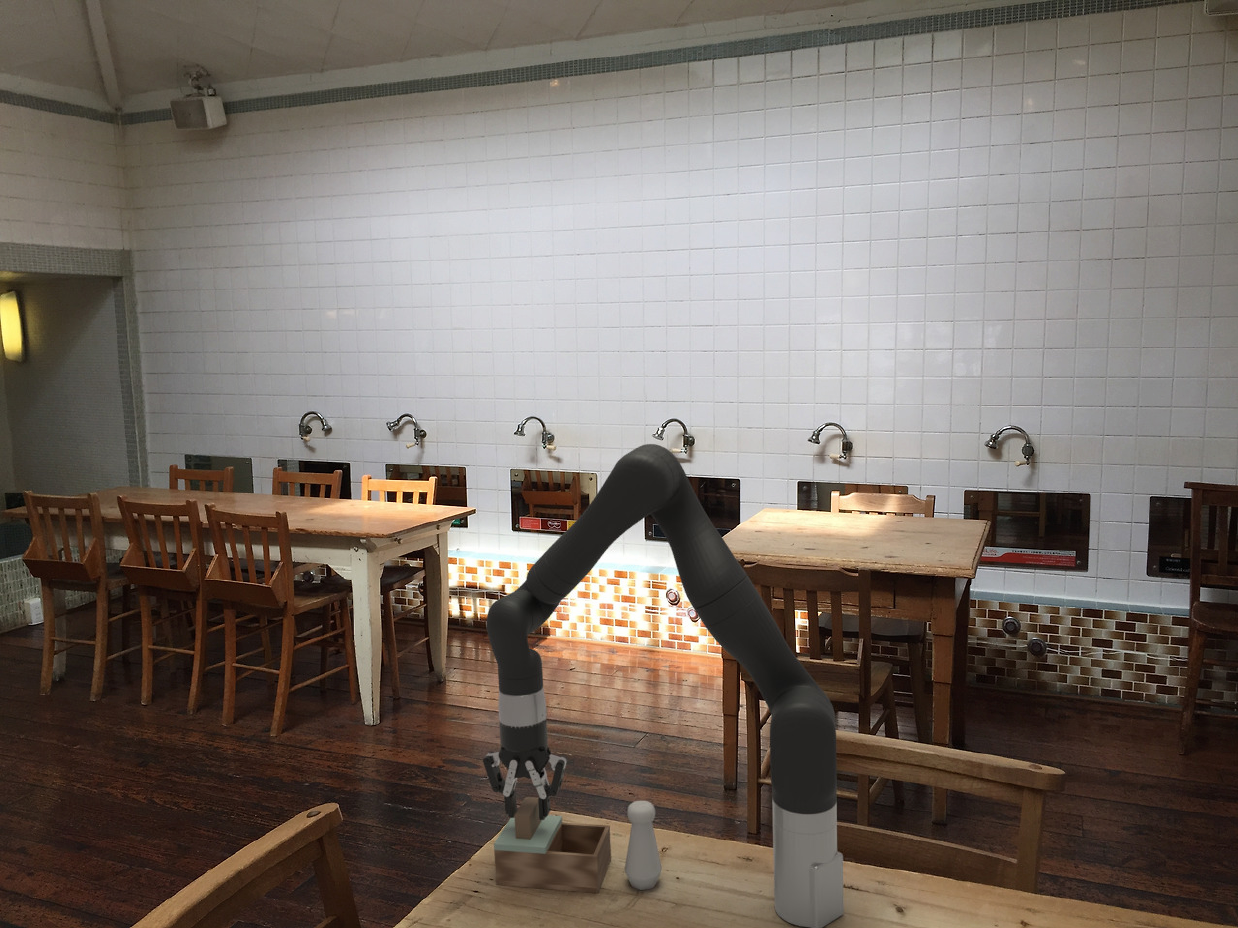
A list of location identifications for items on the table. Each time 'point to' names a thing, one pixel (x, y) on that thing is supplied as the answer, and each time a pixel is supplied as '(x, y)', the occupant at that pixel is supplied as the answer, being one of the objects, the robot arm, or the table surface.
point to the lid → (528, 830)
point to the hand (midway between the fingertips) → (528, 815)
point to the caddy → (560, 861)
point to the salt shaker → (642, 847)
